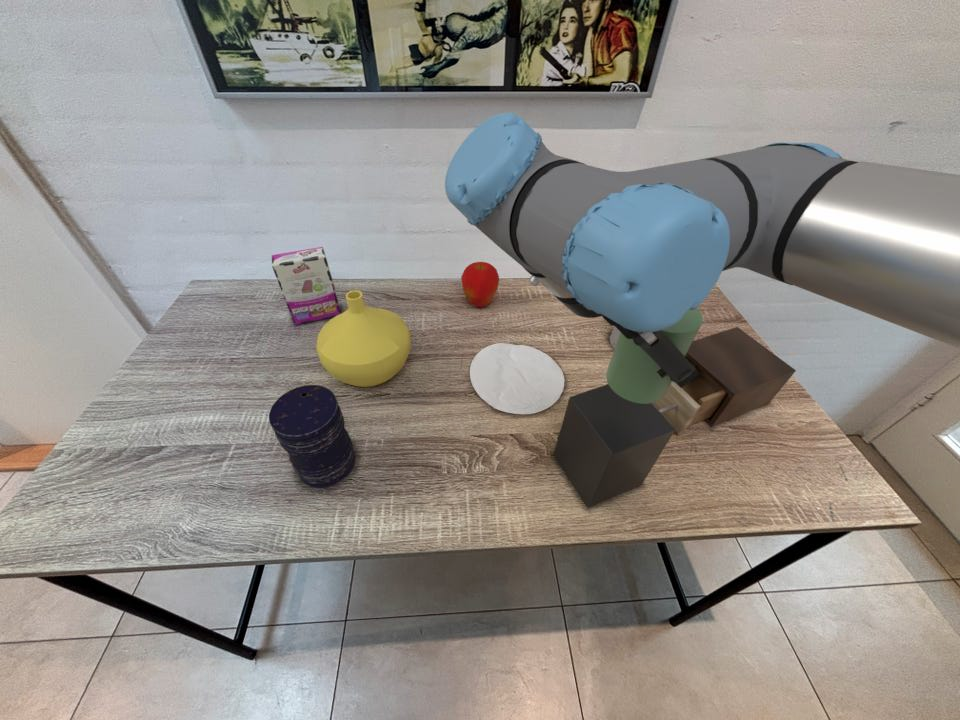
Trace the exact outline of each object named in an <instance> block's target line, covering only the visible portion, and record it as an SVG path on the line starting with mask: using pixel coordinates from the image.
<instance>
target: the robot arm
mask: <svg viewBox="0 0 960 720" xmlns="http://www.w3.org/2000/svg"><path fill="white" fill-rule="evenodd" d="M444 190H445V195H446V198H447V199H448V201H449V202H450V203H451V204H452V206H454V207H455V208H456V209H457V210H458V212H460V213H461V214H462V215H463V216H464V217H465V219H467V220H466V221H467V223H468V224H470V225H471V226H474V227H476V228H477V229H478V230H479V231H480V232H481V233H483V234H484V236H486V237H487V238H488V239H489V240H490V241H492V242H493V243H494V244H495V245H496V246H497V247H498V248H499V249H501V250H502V251H503V252H504V253H505V254H506V255H508V256H509V257H510V258H511V259H513V260H514V261H515V262H516V263H517V264H518V265H520V266H521V268H523V269H524V270H525V271H526V272H527V273H528V274H529V275H530V277H529V278H528V281H529V283H530V285H531V286H533V287H538V285H540V283H541V285H542V286H543V287H544V288H546V290H547V291H549V292H550V293H551V294H552V295H553V296H554V297H556V299H557V301H559V302H560V303H561V304H562V305H564V306H565V307H566V308H567V309H568V310H569V311H571V312H572V314H574V315H575V316H578V317H581V318H586V319H595V318H599V317H602V318H603V319H604V320H605V322H606V323H608V324H609V326H613V327H614V326H615V327H616V328H617V329H618V330H619V331H620V332H621V333H622V334H623V335H624V336H625V337H626V338H627V339H632V340H633V342H634V343H635V344H636V345H638V346H640V347H641V348H642V349H643V350H644V351H645V352H646V353H647V354H648V355H649V356H650V357H651V358H652V359H653V360H654V361H655V362H656V363H657V364H658V365H659V367H660V368H661V369H660V370H658V371H657V373H658V374H659V375H660V376H661V377H662V378H664V377H665V376H667V375H668V376H669V377H670V379H671V380H672V381H673V382H675V383H676V384H677V385H678V386H679V387H680V388H682V387H683V386H684V385H686V384H687V383H688V382H690V381H691V380H693V379H694V378H695V377H697V376H698V375H699V373H698V372H697V371H696V369H695V367H694V364H693V363H692V362H689V361H688V360H687V359H686V357H685V356H684V355H683V354H682V353H681V352H680V351H679V350H678V348H677V347H676V346H675V345H674V344H673V343H672V342H671V341H670V339H669V338H668V337H667V336H666V335H665V334H664V333H663V331H662V330H663V329H666V328H668V327H671V326H673V325H675V324H677V323H678V322H679V321H680V320H681V319H682V317H683V316H684V314H685V313H686V312H687V311H688V310H694V309H696V308H698V307H699V306H700V305H701V304H702V303H703V302H704V301H705V299H706V298H707V297H708V296H709V294H710V293H711V292H712V290H713V289H714V287H715V285H716V284H717V282H718V280H719V278H720V276H721V274H722V273H723V272H725V271H728V270H731V269H736V268H741V269H746V270H749V271H751V272H754V273H756V274H759V275H762V276H765V277H768V278H770V279H773V280H775V281H778V282H781V283H784V284H786V285H788V286H793V287H797V288H799V289H801V290H805V291H807V292H810V293H812V294H814V295H815V294H816V295H818V296H821V297H823V298H826V299H828V300H830V301H833V302H836V303H839V304H842V305H844V306H847V307H849V308H852V309H855V310H857V311H860V312H862V313H865V314H867V315H870V316H873V317H876V318H878V319H881V320H883V321H886V322H888V323H891V324H894V325H897V326H899V327H901V328H904V329H906V330H909V331H912V332H915V333H918V334H920V335H923V336H925V337H928V338H930V339H933V340H934V341H935V340H936V341H939V342H941V343H943V344H946V345H948V346H952V347H954V348H955V349H956V348H957V349H959V350H960V174H956V173H951V172H950V173H949V172H942V171H935V170H929V169H928V170H927V169H920V168H913V167H906V166H899V165H891V164H883V163H877V162H869V161H863V160H861V161H855V160H850V159H846V158H843V157H842V156H841V155H840V153H838V152H837V151H835V150H833V149H832V148H830V147H828V146H826V145H823V144H820V143H815V142H772V143H769V144H766V145H763V146H758V147H755V148H752V149H747V150H742V151H736V152H731V153H727V154H726V153H725V154H721V155H720V154H719V155H716V156H711V157H706V158H699V159H694V160H693V159H692V160H688V161H687V160H686V161H681V162H676V163H669V164H664V165H658V166H653V167H648V168H642V169H636V170H631V171H614V170H609V169H605V168H601V167H597V166H592V165H589V164H586V163H585V162H580V161H579V160H575V159H572V158H568V157H564V156H561V155H557V154H555V153H553V152H552V151H550V149H548V148H547V146H546V145H545V143H544V142H543V138H542V136H541V134H540V133H539V132H536V131H535V130H534V129H533V127H531V126H530V124H528V123H527V122H526V120H524V118H522V117H521V116H520V115H519V114H517V113H514V112H510V111H509V112H508V111H507V112H502V113H497V114H495V115H493V116H490V117H489V118H487V119H485V120H484V121H482V122H481V123H479V125H478V126H476V127H475V128H474V129H473V130H472V131H470V133H469V134H468V135H467V136H466V138H465V139H464V140H463V141H462V143H460V145H459V147H458V148H457V150H456V151H455V152H454V155H453V156H452V158H451V160H450V162H449V165H448V167H447V170H446V173H445V178H444ZM624 327H625V328H624Z"/></svg>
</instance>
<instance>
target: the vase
mask: <svg viewBox="0 0 960 720" xmlns="http://www.w3.org/2000/svg"><path fill="white" fill-rule="evenodd" d="M345 301H346V303H347V310H345V311H343V312H341V314H339V315H337V316H335V317H331V318H330V319H329V320H328V321H327V322H326V323H325V324H324V325H323V326H322V327H321V329H320V331H319V333H318V334H317V339H316V348H315V349H316V352H317V355H318V358H319V361H320V364H321V365H322V367H323V368H324V369H325V370H326V371H327V372H328V373H329V374H330V375H332V376H333V378H335V379H336V380H339V382H342V383H344V384H347V385H351V386H355V387H359V388H360V387H362V388H368V387H374V386H378V385H381V384H384V383H385V382H387V381H390V380H391V379H392V378H393V377H394V376H395V375H397V374H398V373H399V372H400V371H401V370H402V368H403V367H404V365H405V364H406V361H407V360H408V357H409V354H410V351H411V349H412V348H411V347H412V343H411V332H410V329H409V328H408V326H407V324H406V322H405V321H404V319H403V318H402V317H400V316H399V315H398V314H397V313H395V312H393V311H390V310H388V309H384V308H380V307H371V306H367V305H365V300H364V296H363V292H361V291H360V290H350V291H348V292H347V293H346V294H345Z"/></svg>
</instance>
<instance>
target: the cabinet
mask: <svg viewBox="0 0 960 720" xmlns="http://www.w3.org/2000/svg"><path fill="white" fill-rule="evenodd" d="M686 356H687V357H688V358H689V359H690V360H691V361H692V362H694V363H695V364H696V365H697V366H698V367H699V368H700V369H701V370H703V371H704V372H705V373H706V374H707V375H708V376H709V377H710V378H712V379H713V380H714V381H715V382H716V383H717V384H718V385H719V386H721V387H722V388H723V389H724V390H725V391H726V392H727V393H728V394H729V395H728V396H727V397H726V399H725V400H724V402H723V403H722V405H721V406H720V408H719V409H718V410H717V412H716V413H715V415H714V416H712V417H710V418H707V419H705V420H704V422H705V423H707V425H708V426H709V427H710V428H713V427H715V426H718V425H720V424H723V423H726V422H728V421H731V420H732V419H735V418H737V417H739V416H742V415H745V414H747V413H750V412H752V411H754V410H757V409H760V408H762V407H764V406H766V405H769V404H770V403H771V402H772V401H773V399H775V397H776V396H777V394H778V393H779V392H780V391H781V390H782V389H783V387H784V386H785V385H786V384H787V382H788V381H789V380H790V379H791V378H792V376H793V375H794V374H795V372H796V371H797V370H796V369H795V368H793V367H792V366H790V365H789V364H788V363H787V362H785V361H784V360H783V359H781V358H780V357H779V356H777V355H776V354H775V353H773V352H772V351H771V350H769V349H768V348H767V347H766V346H764V345H763V344H762V343H760V342H759V341H757V340H756V339H754V337H752V336H750V335H749V334H748V333H747V332H745V331H744V330H742V329H741V328H740V327H738V326H735V327H732V328H729V329H726V330H723V331H719V332H717V333H714V334H710V335H707V336H704V337H701V338H698V339H694V340H693V342H692V344H691V346H690V348H689V350H688V352H687V353H686Z"/></svg>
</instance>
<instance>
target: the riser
mask: <svg viewBox="0 0 960 720" xmlns="http://www.w3.org/2000/svg"><path fill="white" fill-rule="evenodd" d="M566 404H567V405H566V407H565V408H566V409H565V411H564V416H563V419H562V423H561V426H560V430H559V433H558V437H557V441H556V443H555V444H556V445H555V448H554V451H553V456H554V459H556V461H557V463H558V464H559V466H560V467H561V469H562V470H563V472H564V474H565V475H566V476H567V478H568V480H569V482H570V483H571V485H573V487H574V489H575V491H576V492H577V494H578V495H579V497H580V498H581V501H583V503H584V505H585V507H586V508H587V509H590V508H592V507H594V506H595V507H596V506H597V505H599V504H602V503H604V502H606V501H608V500H611V499H613V498H615V497H618V496H619V495H622V494H625V493H626V492H629V491H631V490H633V489H636V488H638V487H640V486H642V485H643V483H644V482H645V480H646V478H647V477H648V475H649V474H650V472H651V470H652V469H653V467H654V466H655V464H656V462H657V460H658V459H659V457H660V456H661V454H662V452H664V449H665V448H666V446H667V444H668V443H669V441H670V440H671V438H672V436H673V435H674V433H675V432H676V431H675V428H674V427H673V426H672V425H671V424H670V423H669V422H668V421H667V420H666V418H665V417H664V416H663V415H662V414H661V413H660V412H659V411H658V410H657V409H656V408H655V407H654V406H653V404H652V403H649V404H640V403H635V402H631V401H628V400H626V399H624V398H622V397H620V396H619V395H617V394H616V393H615V392H614V391H613V390H612V389H611V388H610V386H609V385H608V383H607V384H604V385H602V386H598V387H595V388H593V389H590V390H586V391H583V392H580V393H577V394H573V395H571V396H569V398H568V401H567V403H566Z"/></svg>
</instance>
